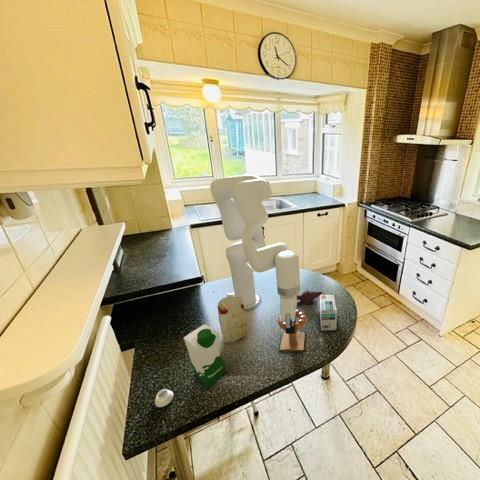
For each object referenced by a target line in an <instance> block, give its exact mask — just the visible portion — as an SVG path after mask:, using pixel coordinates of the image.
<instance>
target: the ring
mask: <svg viewBox="0 0 480 480" xmlns="http://www.w3.org/2000/svg"><path fill="white" fill-rule="evenodd" d="M295 317H297V318H298V319H299V320H298V321H296V323H294V324H295V330H296V331H298V330H300V329H302V328H303V327H304V325H305V324H306V323H307V316H306V314H305V313H304V312H303V311H302V310H299V309H297V308H296V315H295ZM277 324H278V326H279V328H280V329H281V330H284V331H286V329H285V321H284V322H281V321H280V314H279V315H278V317H277Z"/></svg>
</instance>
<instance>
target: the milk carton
mask: <svg viewBox="0 0 480 480" xmlns="http://www.w3.org/2000/svg"><path fill="white" fill-rule="evenodd" d="M183 341H184V343H185V346H186V348H187V349H186V350H187V352H188V355H189V359H190V362H191V366H192V370H193V373H194V376H195V377H196V378H197V379H198V380H199V382H201V383H202V384H203V385H205V386H206V388H210V387H211V386H212V385H213V384H214V383H215V382H216V381H218V380H219V379H220V378H221V377H223V373H225V371H226V366H225V361H224V357H223V352H222V347H221V343H220V333H219V332H218V331H217V330H215V329H213V328H212V327H211V326H210V325H209V326H208V325H207V324H206V323H203V324H201V326H199V327H198V328H196V329H195V330H193V331H191V332H189V333H188V334H187V335H186V336H183Z"/></svg>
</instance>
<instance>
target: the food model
mask: <svg viewBox="0 0 480 480" xmlns="http://www.w3.org/2000/svg"><path fill="white" fill-rule="evenodd" d="M216 307H217V315H218V322H219V327H220V332H221V335H222V340H223V343H237V342H239V341H241V340H243V339H244V338H245V337H246V336H247V330H248V329H247V328H248V324H247V323H248V322H247V321H248V320H247V314H246V313H247V312H246V309H245V308H244V304H243V300H242V298H241V297H231V296H229V297H227V296H225V297H223V298H221V299H220V300H219V301H218V302H217V306H216Z"/></svg>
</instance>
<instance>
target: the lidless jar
mask: <svg viewBox="0 0 480 480" xmlns="http://www.w3.org/2000/svg"><path fill="white" fill-rule="evenodd" d="M173 399H174V392H173V391H172V390H170V389H167V388H163V389H161V390H159V391H158V392H157V394H156V397H155V398H154V405H155V406H156V407H157V408H163V407H165V406H167V405H169V404H170V403H171V402H172V400H173Z"/></svg>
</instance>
